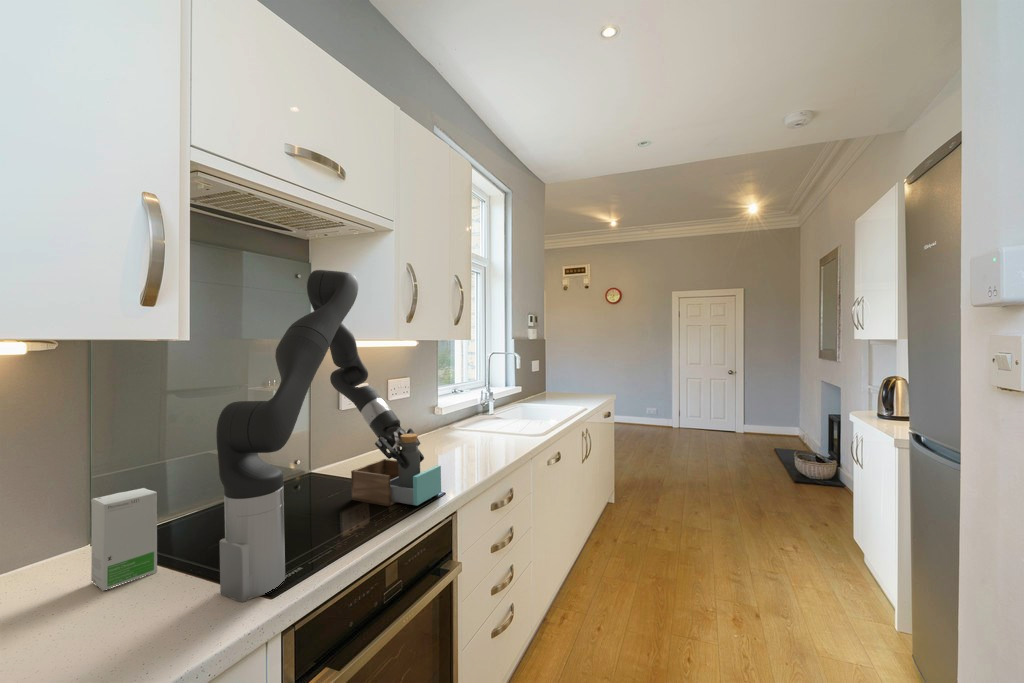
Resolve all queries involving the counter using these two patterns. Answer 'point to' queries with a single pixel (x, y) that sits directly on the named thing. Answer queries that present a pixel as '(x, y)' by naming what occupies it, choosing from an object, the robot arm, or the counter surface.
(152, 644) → the counter surface
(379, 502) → the housing
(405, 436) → the bottle
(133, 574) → the skincare box
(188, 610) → the counter surface
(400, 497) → the teal drawer
